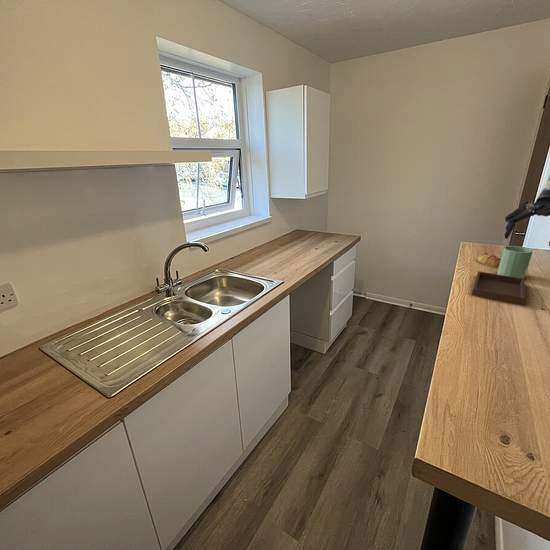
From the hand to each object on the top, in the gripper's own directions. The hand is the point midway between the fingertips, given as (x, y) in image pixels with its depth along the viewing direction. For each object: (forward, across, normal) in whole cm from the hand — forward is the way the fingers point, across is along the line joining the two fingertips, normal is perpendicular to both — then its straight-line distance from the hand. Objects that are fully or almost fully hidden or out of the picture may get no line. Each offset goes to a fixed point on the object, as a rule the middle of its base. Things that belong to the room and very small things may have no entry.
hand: (527, 240), depth 112 cm
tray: (+26, -2, +8) cm, 27 cm away
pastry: (+8, +10, -10) cm, 17 cm away
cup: (+14, 0, -3) cm, 15 cm away
